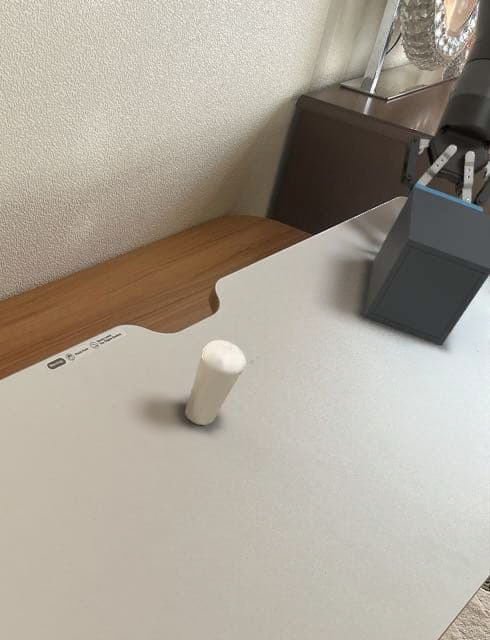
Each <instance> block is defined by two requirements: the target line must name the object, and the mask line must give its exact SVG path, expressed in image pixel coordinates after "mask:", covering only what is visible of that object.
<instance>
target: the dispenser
mask: <svg viewBox="0 0 490 640" xmlns="http://www.w3.org/2000/svg"><path fill="white" fill-rule="evenodd" d="M407 198H408V199H406V200H407V201H406V200H405V202H406V203H405V202H404V203H403V206H402V208H401V209H402V210H400V211H401V212H399V213H400V214H399V213H398V214H397V217H396V219H395V220H396V221H394V222H395V223H394V222H393V224H394V225H393V224H392V225H391V228H390V230H389V231H390V232H389V231H388V233H389V234H387V235H388V236H387V235H386V237H385V239H384V241H383V242H384V243H382V244H383V245H382V244H381V246H380V248H379V250H378V252H377V254H376V255H375V258H374V259H373V261H372V263H371V270H370V278H369V284H368V290H367V296H366V297H367V298H366V304H365V311H364V318H367V319H369V320H372V321H374V322H378V323H381V324H383V325H386V326H389V327H390V328H391V327H392V328H393V329H396V330H400V331H402V332H405V333H408V334H410V335H413V336H414V337H418V338H420V339H424V340H426V341H429V342H431V343H434V344H437V345H439V346H443V345H444V343H445V341H446V340H447V339H448V337H449V336H450V334H451V333H452V331H453V330H454V329H455V326H456V325H457V324H458V323H459V321H460V319H461V318H462V317H463V315H464V313H465V312H466V310H467V309H468V307H470V304H471V303H472V302H473V300H474V298H475V297H476V296H477V294H478V293H479V291H480V290H481V288H482V286H483V285H484V284H485V282H486V281H487V280H488V279H489V276H490V214H487V213H485V212H484V211H483V212H480V211H477V210H474V209H472V208H469V207H466V206H464V205H461V204H458V203H456V202H453V201H450V200H447V199H445V198H442V197H439V196H437V195H434V194H431V193H428V192H426V191H423V190H420V189H418V188H415V187H414V188H413V190H412V192H411V193H410V192H409V195H408V197H407Z"/></svg>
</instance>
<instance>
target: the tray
mask: <svg viewBox="0 0 490 640" xmlns="http://www.w3.org/2000/svg"><path fill="white" fill-rule="evenodd" d="M414 187H415V188H418V189H420V190H423V191H426V192H428V193H431V194H434V195H437V196H439V197H442V198H445V199H447V200H450V201H453V202H456V203H458V204H461V205H464V206H466V207H469V208H472V209H474V210H477V211H480V212H483V213H484V208H483V206H477V205H474V204H472V203H469V202H466V201H464V200H461V199H458V198H456V196H452V195H450V194H447V193H445V192H442V191H439V190H437V189H433V188H431V187H428V186H427V185H426V186H423V185H420V184H418V183H416V184H415V186H414ZM414 187H413V188H414ZM412 190H413V189H412ZM411 192H412V191H411ZM407 199H408V197H407ZM407 199H405V202H404V204H405V203H406V201H407ZM401 210H402V208H401ZM401 210H400V212H401ZM400 212H399V213H398V215H399V214H400ZM395 221H396V219H395ZM395 221H394V222H393V224H392V226H393V225H394V223H395ZM389 232H390V230H389V231H388V234H389ZM388 234H387V235H386V237H387V236H388ZM383 243H384V241H383ZM383 243H382V244H381V246H382V245H383Z"/></svg>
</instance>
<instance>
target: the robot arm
mask: <svg viewBox="0 0 490 640" xmlns="http://www.w3.org/2000/svg"><path fill="white" fill-rule="evenodd" d="M474 33H475V34H474V40H473V42H472V45H471V47H470V50H469V52H468V55H467V58H466V60H465V63H464V65H463V67H462V69H461V72H460V74H459V75H458V77H457V79H456V81H455V83H454V86H453V88H452V90H451V92H450V93H449V96H448V101H447V103H446V106H445V107H444V111H443V113H442V116H441V118H440V120H439V123H438V126H437V129H436V131H435V133H434V135H433V136H432V137H431V138H430V139H427V138H421V136H420V135H419V134H414V135H413V136H412V137H411V138H410V139H409V140H408V141H407V143H406V144H405V151H404V156H403V158H404V159H403V163H402V170H401V175H400V184H401V185H402V186H406V187H407V188H408V189H409V194H410V193H411V191H412V189H413V187H414V186H415V184H416V183H418V184H420V185H423V186H426V187H427V185H428V184H429V183H430V182H431V180H432V179H434V177H435V178H438V179H444V180H447V181H448V182H449V183H451V184H454V194H455V198H458V199H461V200H464V201H466V202H469V203H472V204H474V205H477V206H480V207H483V206H484V205H485V204H486V202H487V201H488V199H489V198H490V0H479V1H478V7H477V16H476V23H475V32H474ZM425 150H426V154H427V158H428V161H429V165H430V166H429V167H428V168H427V169H426V171H425V172H424V173H423V174H422V175H421V176H420V177H418V176H417V175H416V172H417V167H418V166H417V165H418V158H419V157H420V156H421V155H422V154H423V153H424V151H425ZM480 171H483V172H484V174H483V175H482V180H483V181H484V183H483V185H482V186H481V188H480V189H479V190H478V192H477V194H476V195H475V196H473V195H472V193H473V191H472V190H473V186H474V176H475V175H476V174H478V173H479V172H480ZM472 196H473V197H472Z"/></svg>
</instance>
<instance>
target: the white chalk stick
mask: <svg viewBox="0 0 490 640" xmlns="http://www.w3.org/2000/svg"><path fill="white" fill-rule="evenodd" d="M257 359H259V356H257V357H255V358H254V359H252V360H251V361H250V362H249V363H248V364H247V359H246V356H245V353H244V352H243V351H242V350H241V348H239V347H238V345H236V344H235V343H232V342H230V341H227V340H225V339H215V340H212V341H210V342H208V343H207V344H205V346H204V347H203V349H202V350H201V355H200V358H199V361H198V365H197V370H196V374H195V378H194V381H193V384H192V387H191V390H190V393H189V396H188V400H187V403H186V406H185V410H184V414H185V416H186V418H187V419H188V420H189V421H191V422H192V423H193V424H195V425H200V426H207V425H209V424H212V423H213V422H214V420H215V418H216V416H217V415H218V413H219V411H220V409H221V408H222V406H223V405H224V403H225V401H226V399H227V397H228V396H229V394H230V392H231V390H232V389H233V387H234V386H235V384H236V382H237V381H238V379H239V377H240V375H241V374H242V373H243V371H244V369H246V368H247V367H248V366H250V364H252V363H253V362H255V361H256V360H257Z"/></svg>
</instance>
